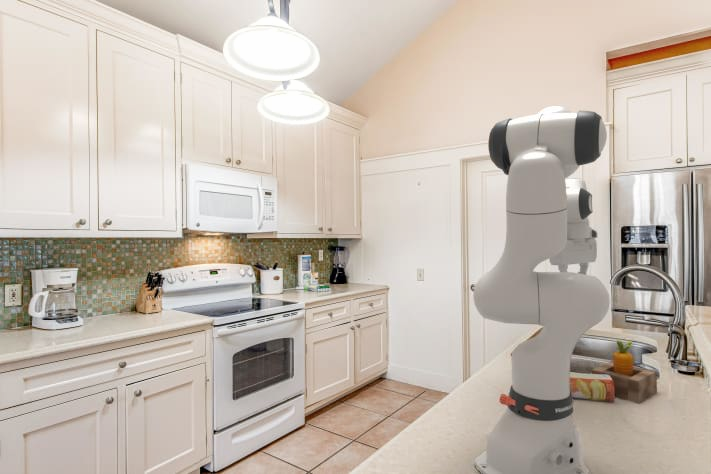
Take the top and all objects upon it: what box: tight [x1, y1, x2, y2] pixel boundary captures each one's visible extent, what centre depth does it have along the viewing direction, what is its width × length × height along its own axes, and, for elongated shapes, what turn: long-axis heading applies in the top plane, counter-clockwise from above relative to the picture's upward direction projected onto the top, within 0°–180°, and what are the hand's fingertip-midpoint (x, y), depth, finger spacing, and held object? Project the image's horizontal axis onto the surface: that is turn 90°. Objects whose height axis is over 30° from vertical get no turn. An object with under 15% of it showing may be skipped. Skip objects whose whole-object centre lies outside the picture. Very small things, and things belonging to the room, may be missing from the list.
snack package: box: [570, 372, 616, 403], centre depth 115 cm, size 21×7×7 cm, turn 69°
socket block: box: [591, 361, 658, 404], centre depth 117 cm, size 12×12×6 cm
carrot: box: [612, 339, 635, 377], centre depth 117 cm, size 5×5×15 cm
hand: (574, 278), depth 121 cm, fingers open, 8 cm apart
